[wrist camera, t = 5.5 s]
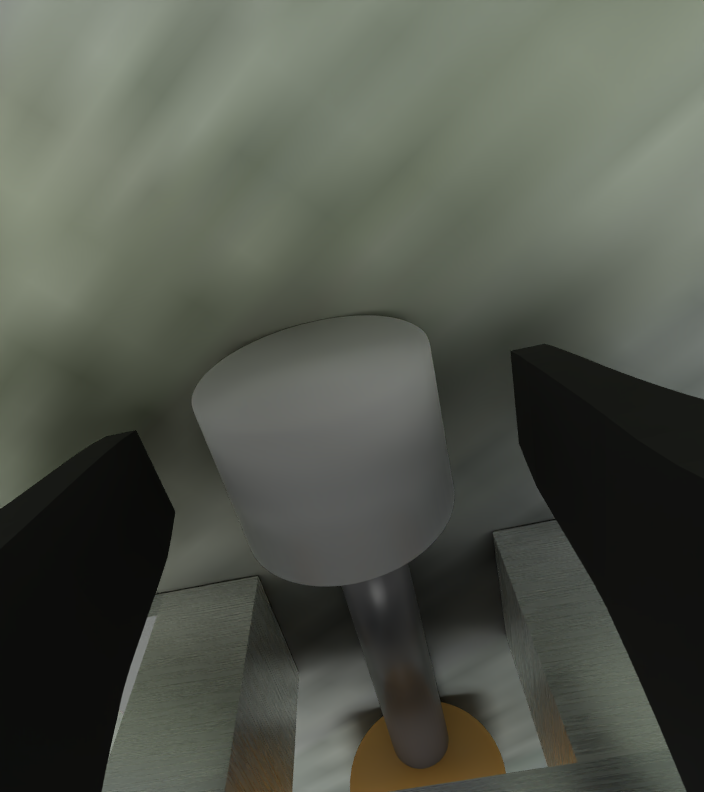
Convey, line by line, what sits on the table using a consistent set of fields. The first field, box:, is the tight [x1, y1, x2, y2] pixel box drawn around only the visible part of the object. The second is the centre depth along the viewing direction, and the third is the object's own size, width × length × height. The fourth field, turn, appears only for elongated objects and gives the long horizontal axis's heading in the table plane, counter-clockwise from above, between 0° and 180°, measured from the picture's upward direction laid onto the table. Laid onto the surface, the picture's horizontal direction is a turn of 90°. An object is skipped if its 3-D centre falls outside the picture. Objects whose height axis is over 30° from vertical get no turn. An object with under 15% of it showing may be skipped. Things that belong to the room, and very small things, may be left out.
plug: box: [192, 315, 506, 792], centre depth 13 cm, size 16×4×4 cm, turn 13°
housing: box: [102, 520, 686, 792], centre depth 12 cm, size 4×16×6 cm, turn 103°
